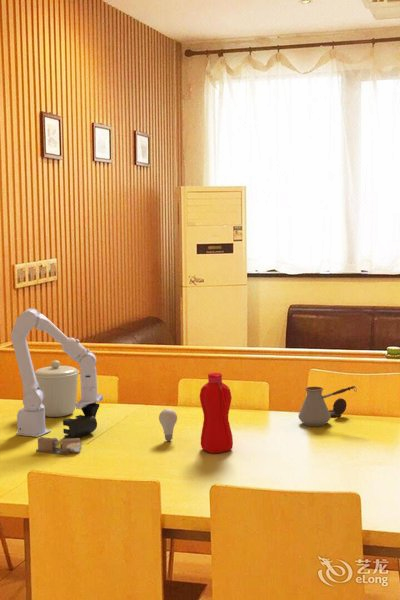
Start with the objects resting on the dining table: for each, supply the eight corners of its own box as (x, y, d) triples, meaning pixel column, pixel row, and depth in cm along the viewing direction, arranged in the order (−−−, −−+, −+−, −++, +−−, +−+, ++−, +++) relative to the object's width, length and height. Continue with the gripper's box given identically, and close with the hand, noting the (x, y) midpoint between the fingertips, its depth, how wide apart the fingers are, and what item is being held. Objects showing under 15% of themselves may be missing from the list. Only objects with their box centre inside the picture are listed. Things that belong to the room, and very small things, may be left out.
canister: (77, 419, 301) (74, 364, 299) (29, 420, 302) (26, 365, 299) (84, 408, 319) (82, 355, 317) (39, 409, 319) (36, 356, 317)
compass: (332, 412, 301) (332, 393, 301) (347, 416, 295) (347, 397, 294) (316, 416, 297) (316, 396, 296) (331, 420, 290) (331, 400, 290)
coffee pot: (293, 425, 284) (292, 384, 282) (306, 418, 294) (305, 378, 292) (350, 432, 273) (350, 389, 271) (362, 424, 283) (361, 382, 281)
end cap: (77, 440, 272) (76, 421, 272) (62, 437, 277) (61, 418, 276) (97, 434, 280) (97, 415, 280) (83, 431, 285) (82, 412, 284)
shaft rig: (36, 451, 262) (35, 438, 261) (46, 446, 267) (45, 434, 266) (73, 455, 255) (72, 443, 255) (83, 451, 260) (82, 438, 260)
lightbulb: (180, 439, 271) (179, 407, 270) (172, 444, 265) (171, 411, 264) (164, 437, 273) (163, 406, 272) (156, 442, 268) (155, 410, 267)
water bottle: (213, 457, 250) (211, 378, 247) (197, 448, 260) (195, 372, 257) (239, 452, 254) (237, 374, 252) (222, 444, 264) (220, 369, 261)
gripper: (87, 391, 274) (88, 430, 276) (109, 383, 287) (111, 420, 289) (70, 390, 277) (71, 428, 279) (92, 382, 290) (94, 418, 292)
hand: (90, 424), depth 284 cm, fingers closed
